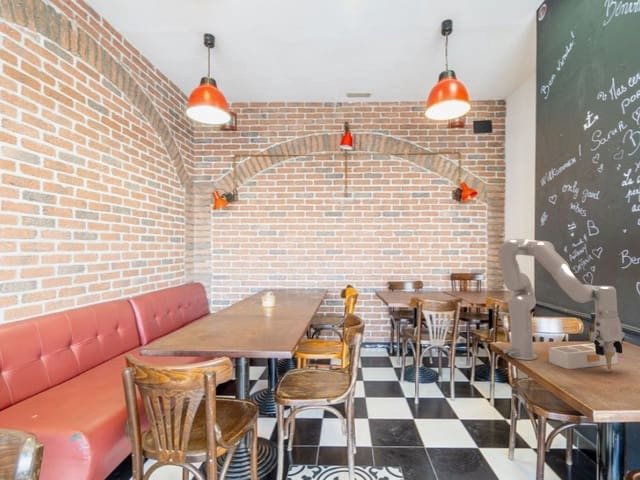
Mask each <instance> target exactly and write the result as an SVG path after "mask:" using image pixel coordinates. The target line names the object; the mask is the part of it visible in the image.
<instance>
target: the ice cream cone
mask: <svg viewBox="0 0 640 480" xmlns="http://www.w3.org/2000/svg"><path fill="white" fill-rule="evenodd" d="M602 346H603V347H604V356H605V357H606V362H607V365H606V367H607V370H608V373H611V371H612V364H611V358H612V357H613V356H614V354H615V352H616V348H615V347H614V346H613V343H612V342H604V343H603V345H602Z"/></svg>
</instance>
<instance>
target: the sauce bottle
mask: <svg viewBox="0 0 640 480" xmlns="http://www.w3.org/2000/svg"><path fill="white" fill-rule="evenodd" d="M589 314H590V315H589V316H590V321H591V322H590V324H589V325H588V328H589V331H588V333H589V344H591V343H593V342H592V339H591V337H590V336H591V335H592V334H593V333H594V324H595V317H596V315H595V312H590V313H589ZM604 342H605V341H604ZM599 343H600V341H599Z"/></svg>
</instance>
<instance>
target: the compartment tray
mask: <svg viewBox="0 0 640 480" xmlns="http://www.w3.org/2000/svg"><path fill="white" fill-rule="evenodd" d="M548 356H549V357H548V361H549V363H551V364H553V365H556V366H558V367H561V368H564V369H566V370H575V369H582V368H590V367H599V366H607V362H606V357H605V356H604V355H603V356H602V355H598V354H596V350H595V345H594V343H591V344H590V343H582V344H574V345H565V346H563V345H562V346H554V347H553V346H552V347H548ZM618 361H619V360H618V353H617V352H615V354H614V356H613V357H612V358H611V365H618Z"/></svg>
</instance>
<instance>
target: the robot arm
mask: <svg viewBox="0 0 640 480" xmlns="http://www.w3.org/2000/svg"><path fill="white" fill-rule="evenodd" d="M517 256H528V257H534V258H535V259H536V260H537V261H538V262H539V263H540V264H541V265H542V266H543V267H544V268H545V270H546V271H548V273H549V274H551V276H552V278H553V279H554V280H555V282H556V283H557V284H558V286H559V287H560V288H561V289H562V291H563V292H565V293H566V295H568V296H569V297H570V298H571V300H573V301H575V302H576V303H581V304H584V303H588V302H590V301H594V307H595V308H594V310H595V312H594V313H595V315H596V317H595V324H594V333H593V334H592V335H591V336H590V335H589V338H590V337H591V339H592V342H593V343H594V345H595V350H596V354H598V355H602V356H603V355H604V347H603V346H602V345H603V343H604V341H605V342H611V343H612V342H613V343H612V345H613V346H614V347H615V348H616V352H617V354H622V353H623V344H624V340H625V336H626V333H625V332H623V328H622V324H621V320H620V317H619V314H618V300H617V290H616V288H615V286H612V285H591V284H585V283H584V284H583V283H582V282H581V281H580V280H579V279H578V278H577V277H576V276H575V275H574V274H573V272H572V271H571V267H570V264H569V263H568V262H567V261H566V260H565V259H564V258H563V257H562V256H561V255H560V254H559V253H558V252H557V251H556V250H555V246H554V244H553V243H552V242H550V241H548V240H547V241H546V240H536V239H535V240H534V239H525V238H524V239H523V238H510V239H508V240H506V241H504V242H503V243H502V244H501V245H500V246H499V248H498V250H497V260H498V263H499V267H500V271H501V275H502V279H503V282H504V283H503V284H504V286H505V287H506V289H507V290H508V291H509V292H513V295H512V296H510V298H509V299H508V303H507V306H508V307H507V308H508V313H509V322H510V343H511V344H510V345H511V346H509V348H508V349H503V350H502V351H503V354H508V356H509V357H511V358H513V359H517V360H521V361H533V360H536V359H538V355H537V354H536V353H534V344H533V341H534V340H533V339H534V338H533V323H532V315H531V310H533V309H534V308H536V305H537V299H536V296H535V293H534V289H533V285H532V282H531V280H530V277H529V276H528V275H526V274H525V273H524V272H521V269H520V264H519V263H518V260H517ZM599 341H600V343H599Z"/></svg>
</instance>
